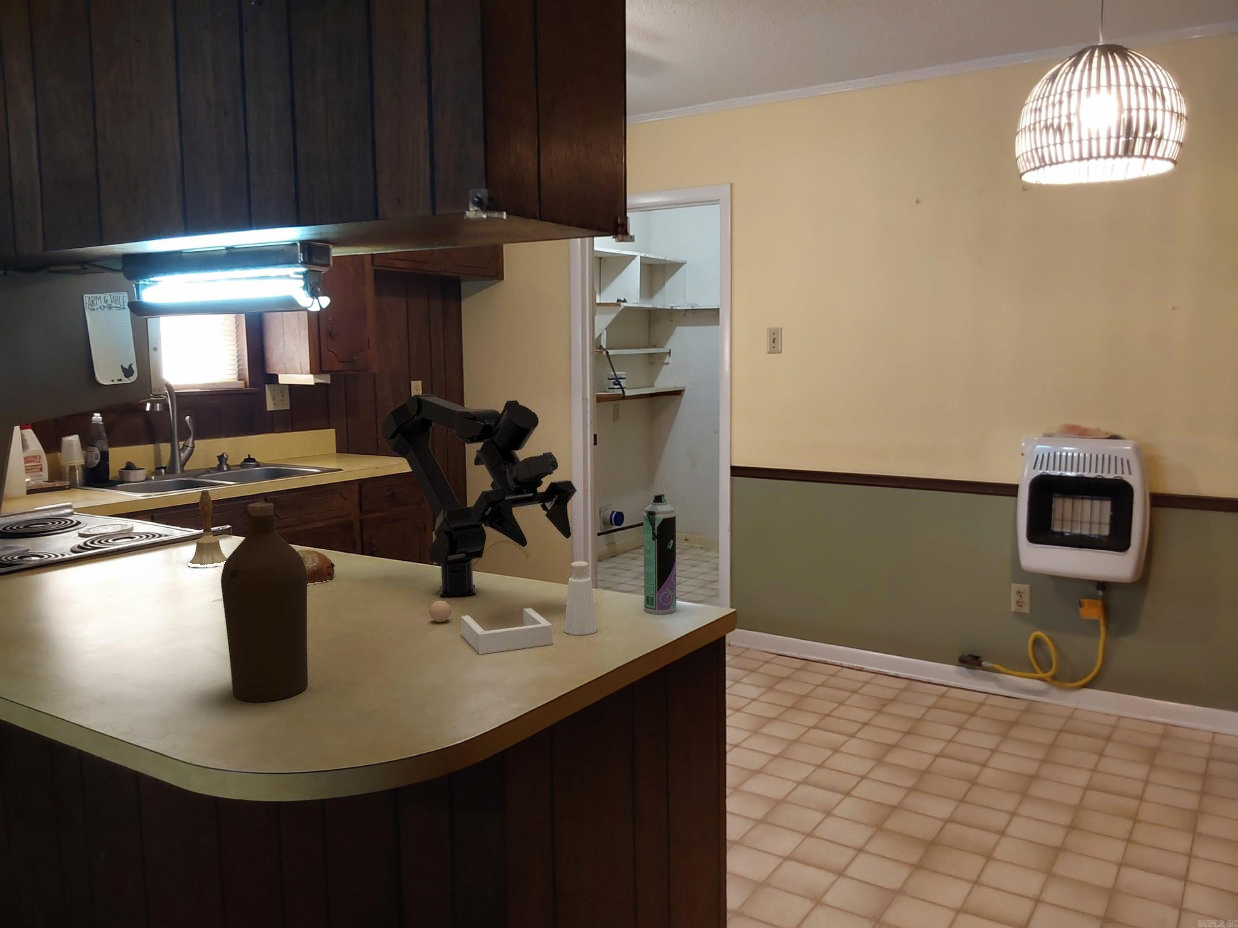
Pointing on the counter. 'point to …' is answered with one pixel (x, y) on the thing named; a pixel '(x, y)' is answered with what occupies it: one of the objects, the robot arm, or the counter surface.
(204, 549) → the wooden handled brush
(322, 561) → the bread roll
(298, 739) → the counter surface
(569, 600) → the pepper shaker
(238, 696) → the dark brown bottle
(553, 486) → the robot arm
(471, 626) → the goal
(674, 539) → the spray can
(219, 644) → the counter surface
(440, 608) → the ball
